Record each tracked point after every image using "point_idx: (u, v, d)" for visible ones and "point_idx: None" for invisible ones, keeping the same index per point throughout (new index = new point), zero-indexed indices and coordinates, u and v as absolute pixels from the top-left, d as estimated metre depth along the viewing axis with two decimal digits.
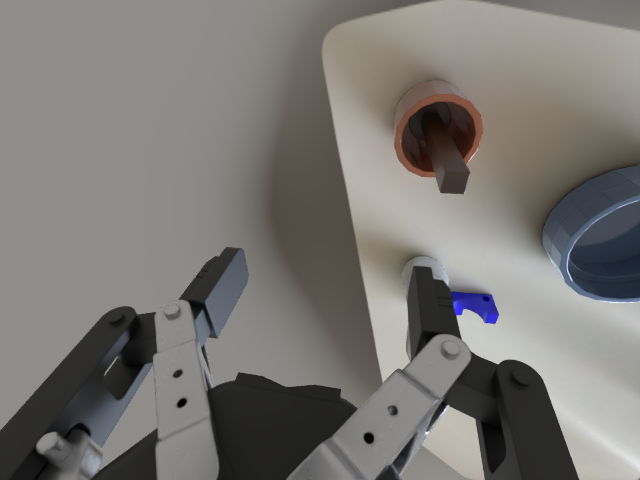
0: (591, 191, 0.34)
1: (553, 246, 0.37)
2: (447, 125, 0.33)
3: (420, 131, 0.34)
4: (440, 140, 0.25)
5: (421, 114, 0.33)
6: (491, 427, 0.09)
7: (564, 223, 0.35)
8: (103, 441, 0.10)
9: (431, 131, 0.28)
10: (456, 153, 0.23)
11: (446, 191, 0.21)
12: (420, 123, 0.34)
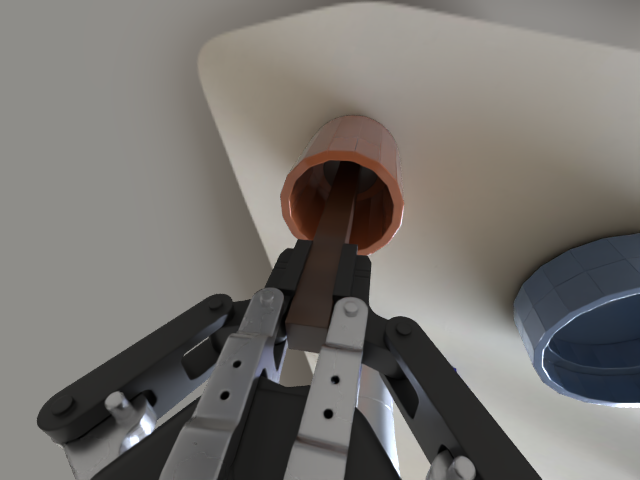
0: (574, 267, 0.24)
1: (525, 333, 0.27)
2: (374, 176, 0.24)
3: None
4: (328, 225, 0.16)
5: (338, 161, 0.24)
6: (397, 380, 0.11)
7: (538, 307, 0.26)
8: (166, 410, 0.10)
9: (328, 201, 0.18)
10: (335, 262, 0.14)
11: (297, 348, 0.12)
12: None
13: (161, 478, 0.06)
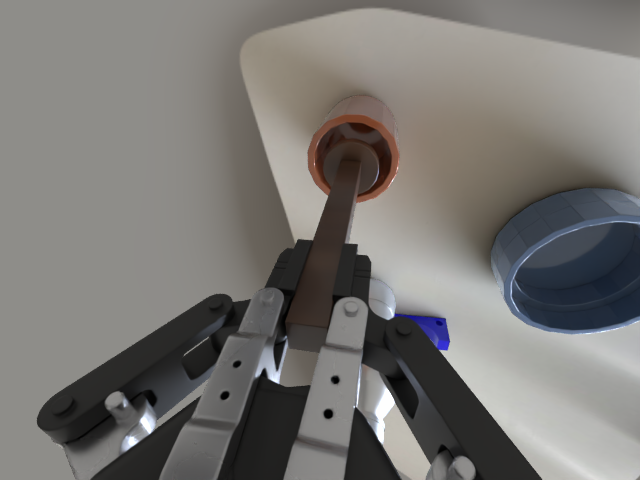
0: (534, 216, 0.31)
1: (498, 273, 0.34)
2: (374, 176, 0.24)
3: None
4: (328, 225, 0.16)
5: (338, 161, 0.24)
6: (396, 380, 0.11)
7: (507, 249, 0.32)
8: (166, 410, 0.10)
9: (328, 201, 0.18)
10: (335, 262, 0.14)
11: (297, 348, 0.12)
12: None
13: (161, 478, 0.06)
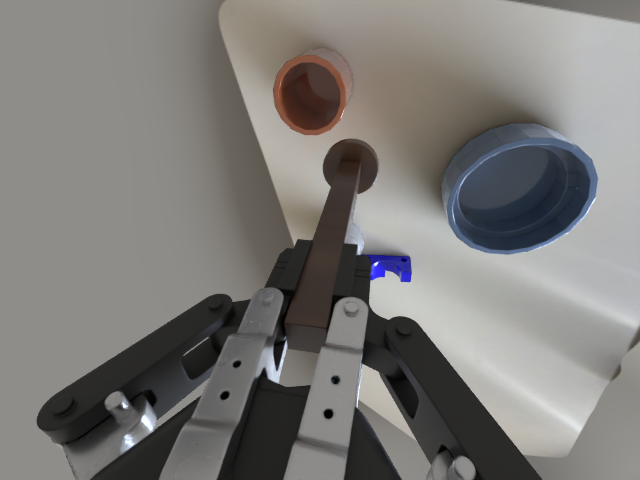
0: (469, 149, 0.37)
1: (444, 203, 0.40)
2: (374, 176, 0.24)
3: None
4: (328, 225, 0.16)
5: (337, 161, 0.24)
6: (397, 380, 0.11)
7: (449, 180, 0.38)
8: (166, 410, 0.10)
9: (327, 201, 0.18)
10: (334, 262, 0.14)
11: (296, 348, 0.12)
12: None
13: (161, 478, 0.06)
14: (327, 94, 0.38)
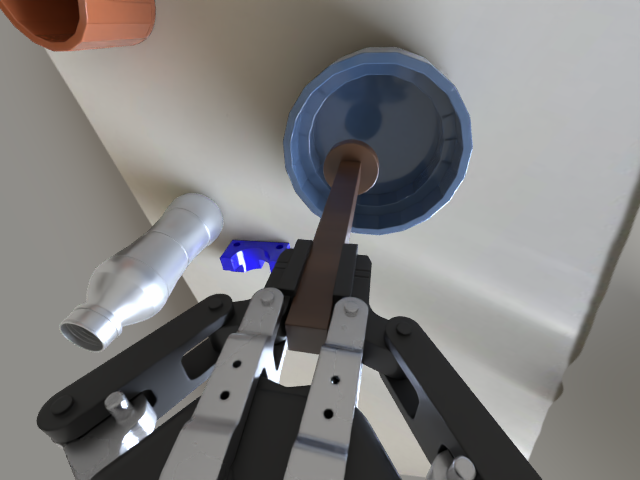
0: None
1: None
2: (374, 177, 0.24)
3: None
4: (328, 226, 0.16)
5: (338, 162, 0.24)
6: (397, 380, 0.11)
7: None
8: (166, 410, 0.10)
9: (327, 202, 0.18)
10: (335, 263, 0.14)
11: (297, 349, 0.12)
12: None
13: (161, 478, 0.06)
14: None
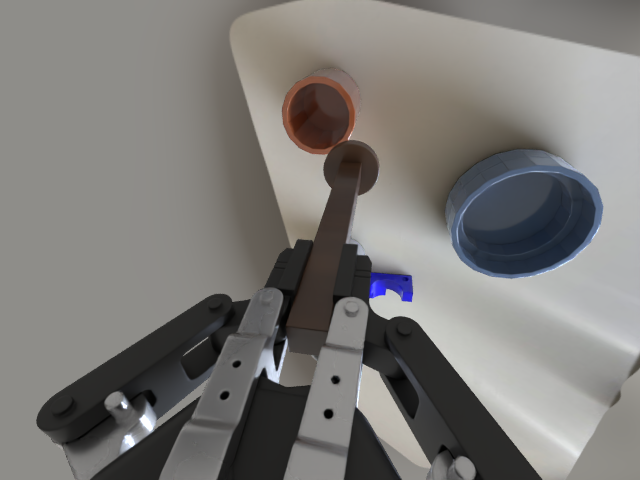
0: (475, 172, 0.37)
1: (448, 225, 0.40)
2: (375, 178, 0.24)
3: None
4: (329, 227, 0.16)
5: (338, 163, 0.24)
6: (397, 380, 0.11)
7: (454, 202, 0.38)
8: (166, 410, 0.10)
9: (328, 203, 0.18)
10: (336, 265, 0.14)
11: (297, 351, 0.12)
12: None
13: (161, 478, 0.06)
14: (335, 113, 0.38)
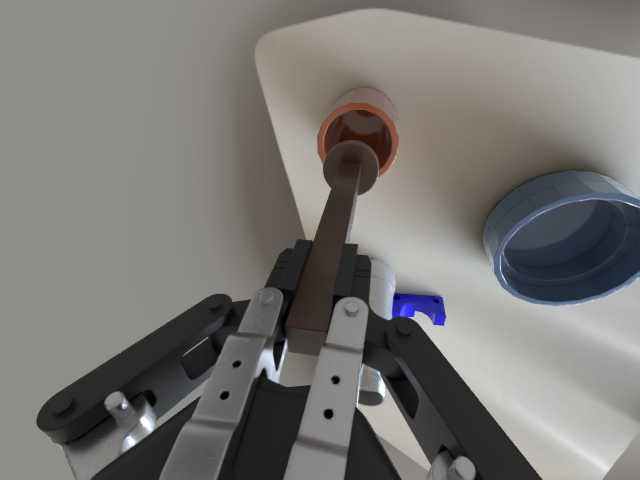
0: (520, 196, 0.34)
1: (489, 250, 0.37)
2: (374, 178, 0.24)
3: None
4: (328, 227, 0.16)
5: (338, 163, 0.24)
6: (397, 380, 0.11)
7: (496, 227, 0.36)
8: (166, 410, 0.10)
9: (327, 203, 0.18)
10: (335, 265, 0.14)
11: (297, 351, 0.12)
12: None
13: (161, 478, 0.06)
14: (368, 134, 0.35)
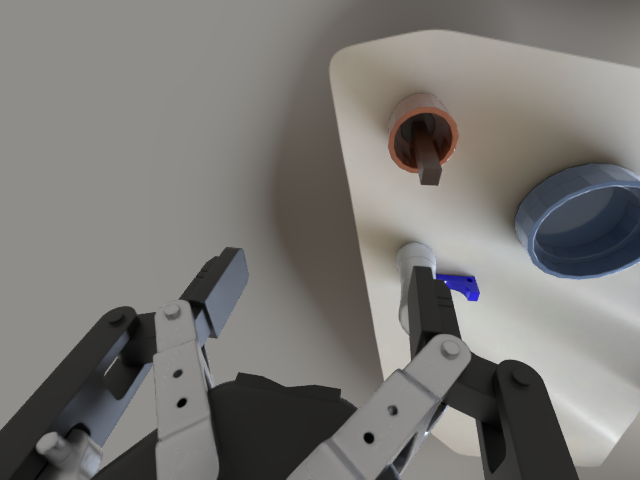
0: (551, 185, 0.41)
1: (522, 232, 0.44)
2: (432, 131, 0.40)
3: (410, 136, 0.41)
4: (423, 144, 0.33)
5: (411, 122, 0.40)
6: (491, 427, 0.09)
7: (530, 212, 0.42)
8: (103, 441, 0.10)
9: (417, 137, 0.35)
10: (434, 154, 0.30)
11: (425, 183, 0.28)
12: (410, 129, 0.41)
13: None
14: None
